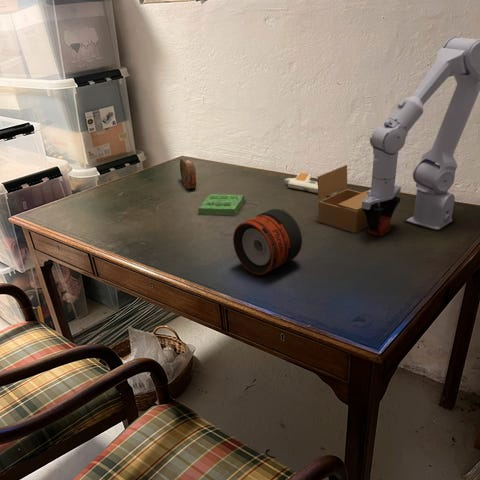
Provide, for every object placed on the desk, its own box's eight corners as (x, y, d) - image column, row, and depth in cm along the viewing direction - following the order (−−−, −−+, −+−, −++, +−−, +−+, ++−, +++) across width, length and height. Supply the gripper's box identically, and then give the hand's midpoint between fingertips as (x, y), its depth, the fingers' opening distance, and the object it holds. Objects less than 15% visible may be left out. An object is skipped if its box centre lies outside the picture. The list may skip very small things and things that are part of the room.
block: (389, 231, 135) (390, 217, 133) (380, 236, 133) (381, 222, 131) (376, 227, 138) (377, 213, 136) (367, 232, 136) (368, 218, 133)
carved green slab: (199, 214, 154) (198, 206, 153) (210, 200, 164) (209, 192, 162) (235, 215, 151) (234, 207, 150) (244, 200, 161) (243, 193, 160)
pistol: (350, 187, 166) (332, 198, 158) (298, 177, 176) (279, 187, 169) (350, 180, 164) (332, 190, 157) (298, 170, 175) (279, 180, 168)
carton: (318, 221, 144) (318, 199, 140) (345, 208, 151) (347, 186, 147) (355, 233, 136) (357, 209, 132) (383, 218, 143) (385, 195, 139)
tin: (180, 179, 183) (177, 155, 178) (189, 178, 183) (186, 154, 179) (189, 192, 171) (186, 167, 166) (198, 191, 171) (196, 166, 167)
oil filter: (234, 266, 124) (230, 215, 117) (268, 248, 131) (266, 200, 124) (273, 282, 116) (272, 229, 109) (307, 263, 123) (308, 212, 116)
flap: (319, 199, 140) (318, 199, 140) (347, 186, 147) (346, 186, 147) (318, 176, 137) (317, 176, 137) (347, 164, 144) (346, 164, 144)
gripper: (386, 166, 134) (381, 215, 141) (353, 181, 126) (349, 231, 133) (410, 171, 129) (404, 221, 137) (377, 186, 121) (372, 239, 129)
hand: (378, 227), depth 135 cm, fingers open, 5 cm apart
